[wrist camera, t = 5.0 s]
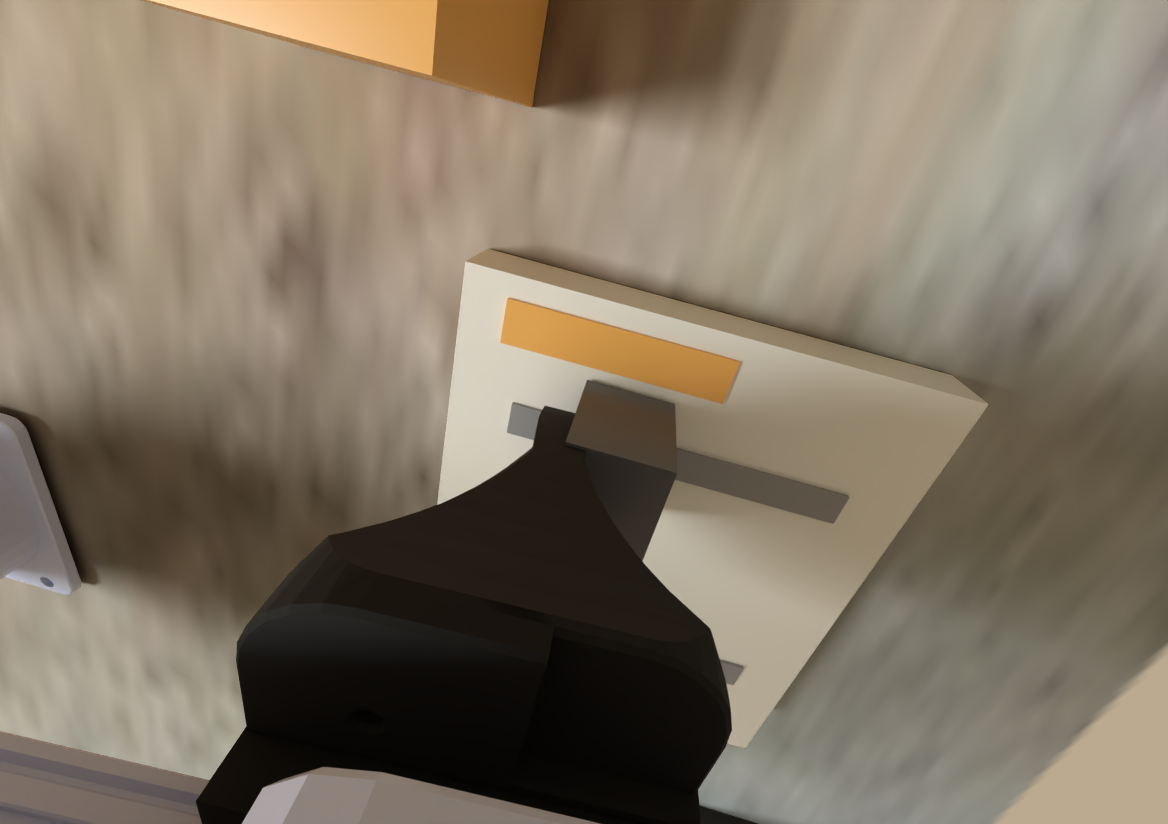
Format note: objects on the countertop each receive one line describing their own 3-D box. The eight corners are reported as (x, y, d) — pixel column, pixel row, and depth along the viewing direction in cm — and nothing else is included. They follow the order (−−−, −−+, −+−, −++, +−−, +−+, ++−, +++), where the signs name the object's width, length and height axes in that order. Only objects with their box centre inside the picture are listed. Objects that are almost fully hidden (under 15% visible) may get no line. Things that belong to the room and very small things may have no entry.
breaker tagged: (559, 486, 13) (534, 564, 10) (587, 379, 11) (565, 442, 9) (637, 507, 13) (630, 592, 10) (674, 404, 11) (677, 473, 9)
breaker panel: (438, 617, 18) (418, 657, 17) (488, 248, 12) (463, 262, 10) (739, 704, 18) (745, 751, 16) (952, 375, 12) (992, 406, 10)
